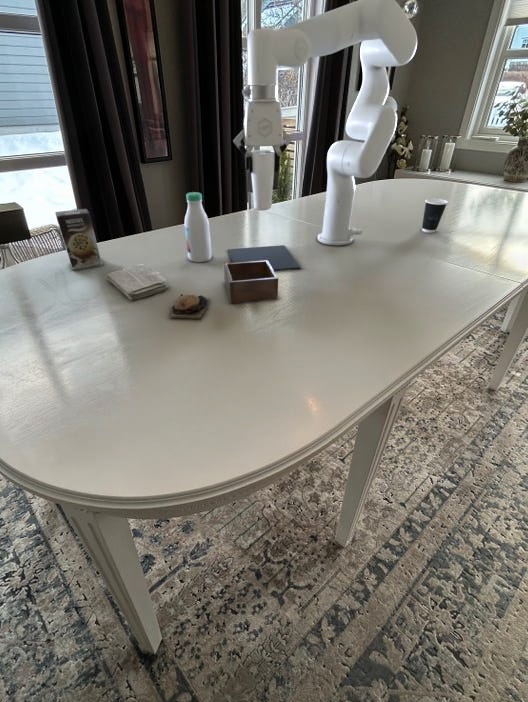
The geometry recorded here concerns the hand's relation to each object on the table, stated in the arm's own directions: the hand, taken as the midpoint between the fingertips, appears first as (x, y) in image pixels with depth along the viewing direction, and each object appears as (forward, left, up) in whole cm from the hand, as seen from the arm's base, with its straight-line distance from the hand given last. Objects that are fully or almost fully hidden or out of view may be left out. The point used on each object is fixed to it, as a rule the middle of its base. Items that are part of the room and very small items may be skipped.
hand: (262, 171), depth 104 cm
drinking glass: (0, 0, -10) cm, 10 cm away
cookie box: (+56, -8, -27) cm, 62 cm away
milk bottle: (+20, -6, -27) cm, 34 cm away
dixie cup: (-70, -17, -26) cm, 77 cm away
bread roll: (+25, +28, -27) cm, 46 cm away
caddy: (+8, +21, -26) cm, 35 cm away
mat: (0, -1, -26) cm, 26 cm away
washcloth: (+39, +11, -26) cm, 48 cm away
